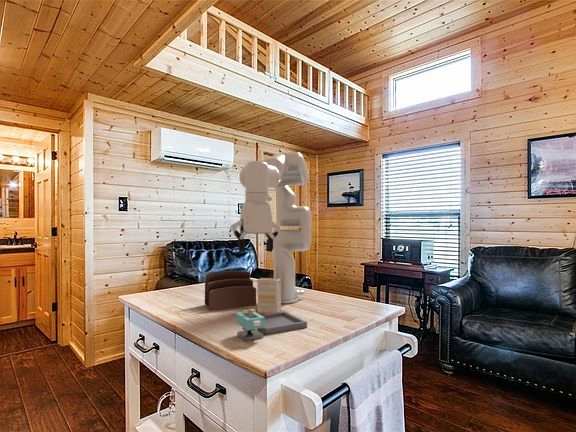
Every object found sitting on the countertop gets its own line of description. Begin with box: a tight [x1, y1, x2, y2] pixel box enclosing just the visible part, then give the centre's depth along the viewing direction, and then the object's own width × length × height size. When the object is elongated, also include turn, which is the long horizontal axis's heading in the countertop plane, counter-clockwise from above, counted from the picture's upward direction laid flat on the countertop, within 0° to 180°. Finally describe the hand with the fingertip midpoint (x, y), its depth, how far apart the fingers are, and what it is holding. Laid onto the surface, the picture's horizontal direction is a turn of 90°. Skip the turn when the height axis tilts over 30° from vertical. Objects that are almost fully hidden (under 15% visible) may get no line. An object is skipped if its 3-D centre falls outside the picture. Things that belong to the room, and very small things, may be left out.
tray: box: [257, 311, 308, 336], centre depth 112 cm, size 15×15×2 cm
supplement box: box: [256, 277, 282, 315], centre depth 127 cm, size 8×5×13 cm, turn 71°
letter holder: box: [204, 270, 258, 311], centre depth 139 cm, size 10×20×14 cm, turn 114°
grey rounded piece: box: [236, 308, 264, 342], centre depth 100 cm, size 6×6×8 cm
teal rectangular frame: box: [235, 311, 265, 330], centre depth 100 cm, size 10×6×3 cm, turn 30°
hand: (255, 251), depth 107 cm, fingers open, 9 cm apart
